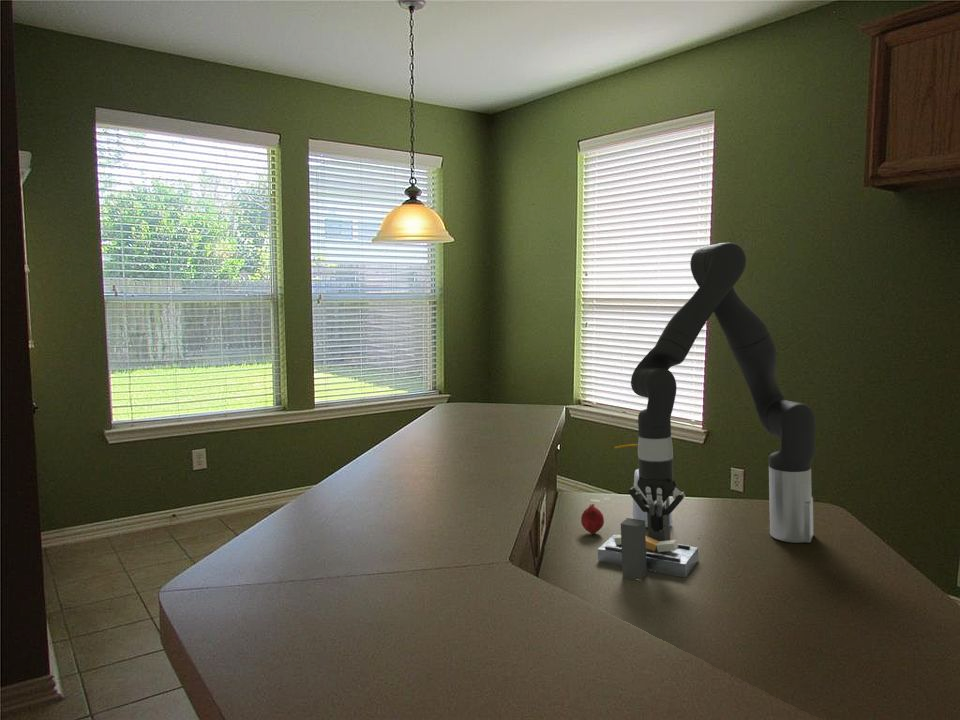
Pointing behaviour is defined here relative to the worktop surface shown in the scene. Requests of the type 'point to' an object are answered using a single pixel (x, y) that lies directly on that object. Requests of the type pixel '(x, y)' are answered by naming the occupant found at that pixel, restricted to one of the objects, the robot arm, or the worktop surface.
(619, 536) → the paddle
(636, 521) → the cord post
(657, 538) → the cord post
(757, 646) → the worktop surface
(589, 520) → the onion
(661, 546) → the paddle
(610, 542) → the breaker panel
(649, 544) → the orange block
